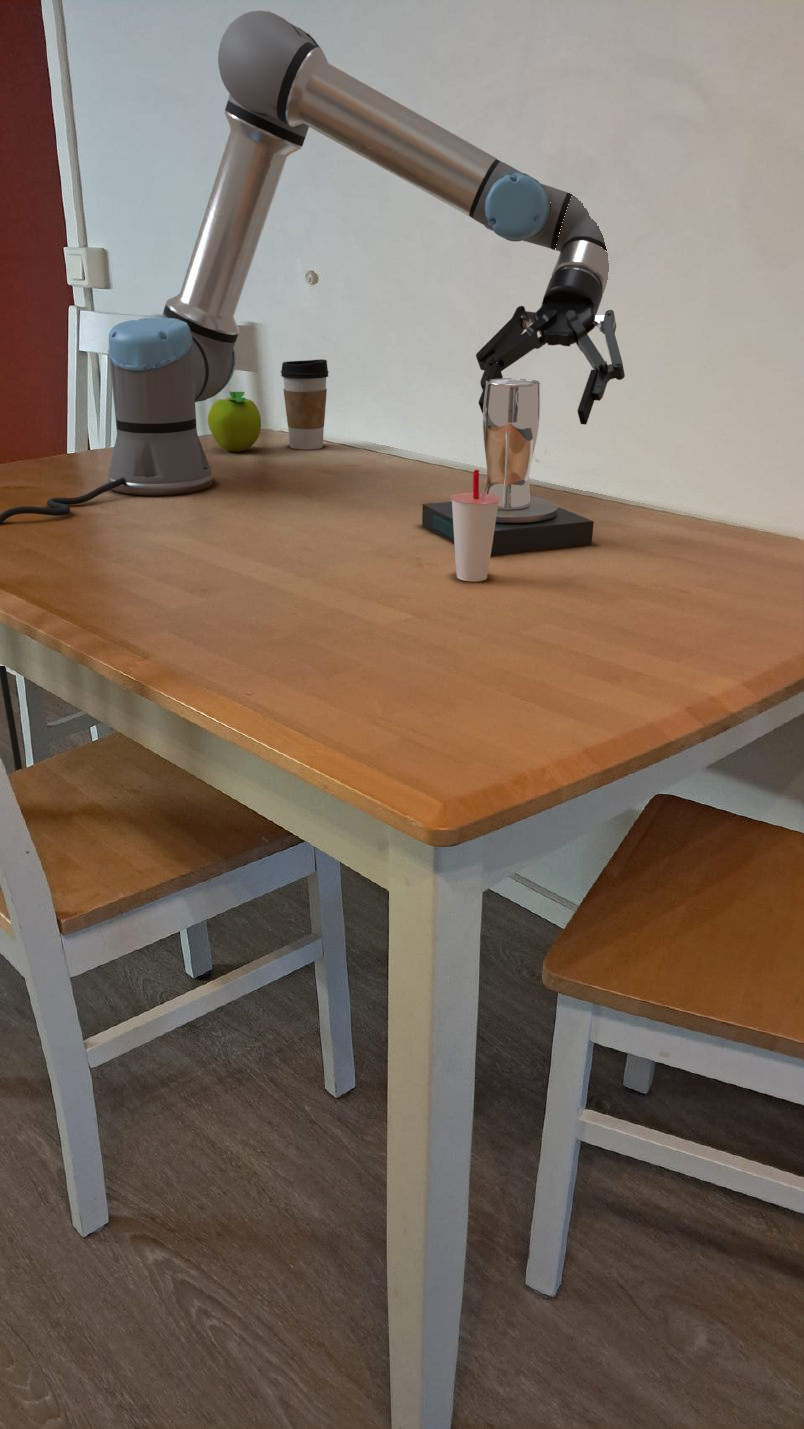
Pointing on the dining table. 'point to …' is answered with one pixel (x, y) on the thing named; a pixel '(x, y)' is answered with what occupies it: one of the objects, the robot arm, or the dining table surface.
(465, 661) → the dining table surface
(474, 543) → the cup
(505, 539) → the scale
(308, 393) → the coffee cup
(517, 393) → the beer glass
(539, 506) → the scale pan
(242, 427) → the fruit
